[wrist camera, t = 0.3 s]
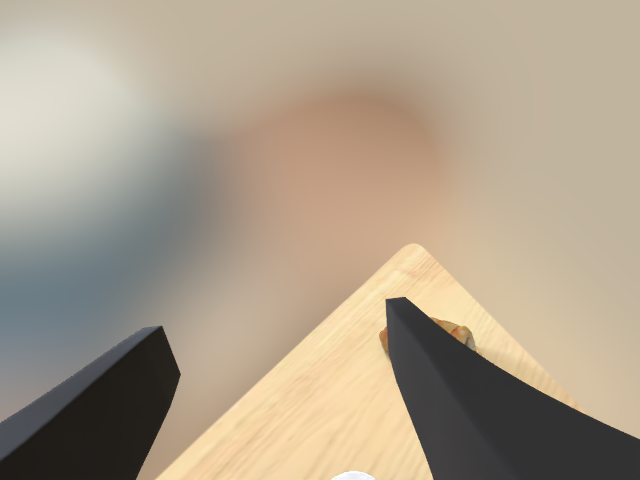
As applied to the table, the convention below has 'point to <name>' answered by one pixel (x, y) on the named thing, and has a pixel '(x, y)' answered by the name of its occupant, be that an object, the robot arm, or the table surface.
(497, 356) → the table surface
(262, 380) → the table surface
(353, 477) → the supplement bottle
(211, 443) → the table surface
